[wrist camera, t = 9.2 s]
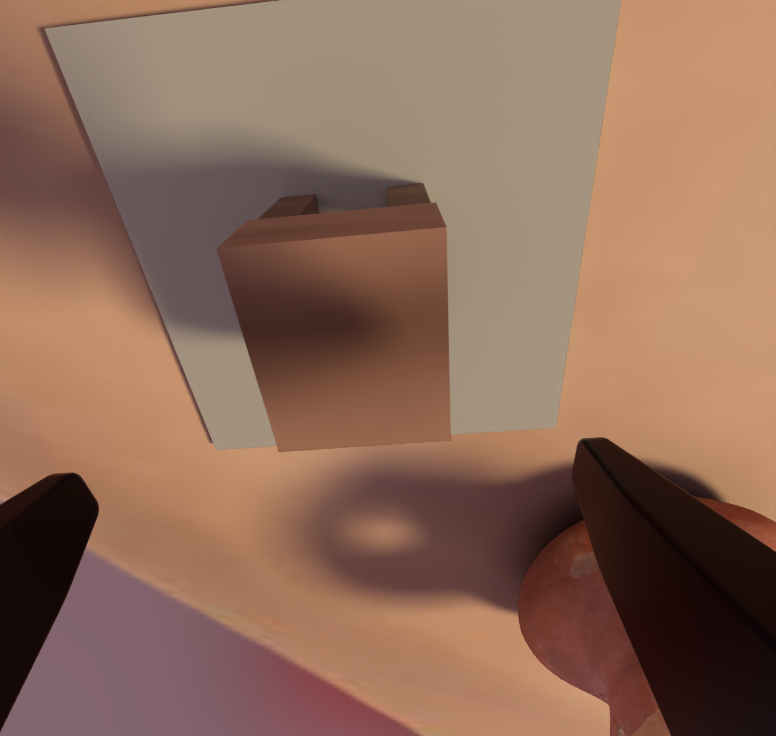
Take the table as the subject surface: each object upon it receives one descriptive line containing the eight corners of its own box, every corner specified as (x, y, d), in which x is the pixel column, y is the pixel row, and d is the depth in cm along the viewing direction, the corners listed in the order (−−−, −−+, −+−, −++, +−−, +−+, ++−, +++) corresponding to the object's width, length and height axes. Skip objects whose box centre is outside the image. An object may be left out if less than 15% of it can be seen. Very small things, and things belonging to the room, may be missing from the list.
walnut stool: (433, 339, 17) (451, 440, 12) (310, 349, 18) (278, 452, 13) (426, 179, 14) (446, 226, 9) (277, 194, 14) (216, 248, 9)
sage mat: (620, -37, 12) (627, -42, 11) (553, 422, 20) (555, 427, 20) (53, 30, 12) (43, 28, 12) (218, 444, 21) (216, 450, 21)
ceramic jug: (444, 539, 25) (494, 953, 13) (692, 403, 20) (1172, 890, 8) (597, 652, 32) (723, 989, 20) (811, 574, 27) (1159, 970, 15)
